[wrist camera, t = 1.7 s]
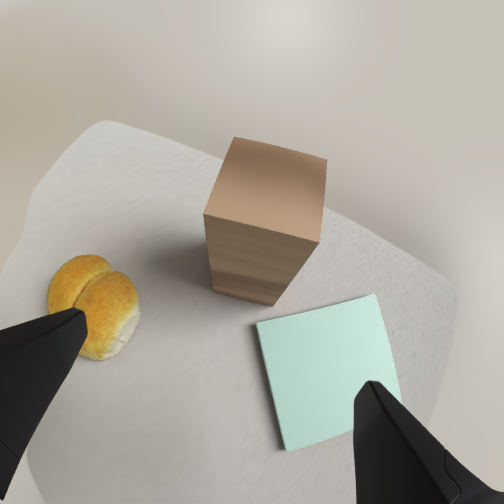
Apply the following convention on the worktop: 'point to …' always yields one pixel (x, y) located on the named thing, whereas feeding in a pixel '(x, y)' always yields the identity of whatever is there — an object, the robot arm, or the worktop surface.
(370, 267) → the worktop surface
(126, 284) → the bread roll
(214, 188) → the walnut block
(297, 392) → the green board
